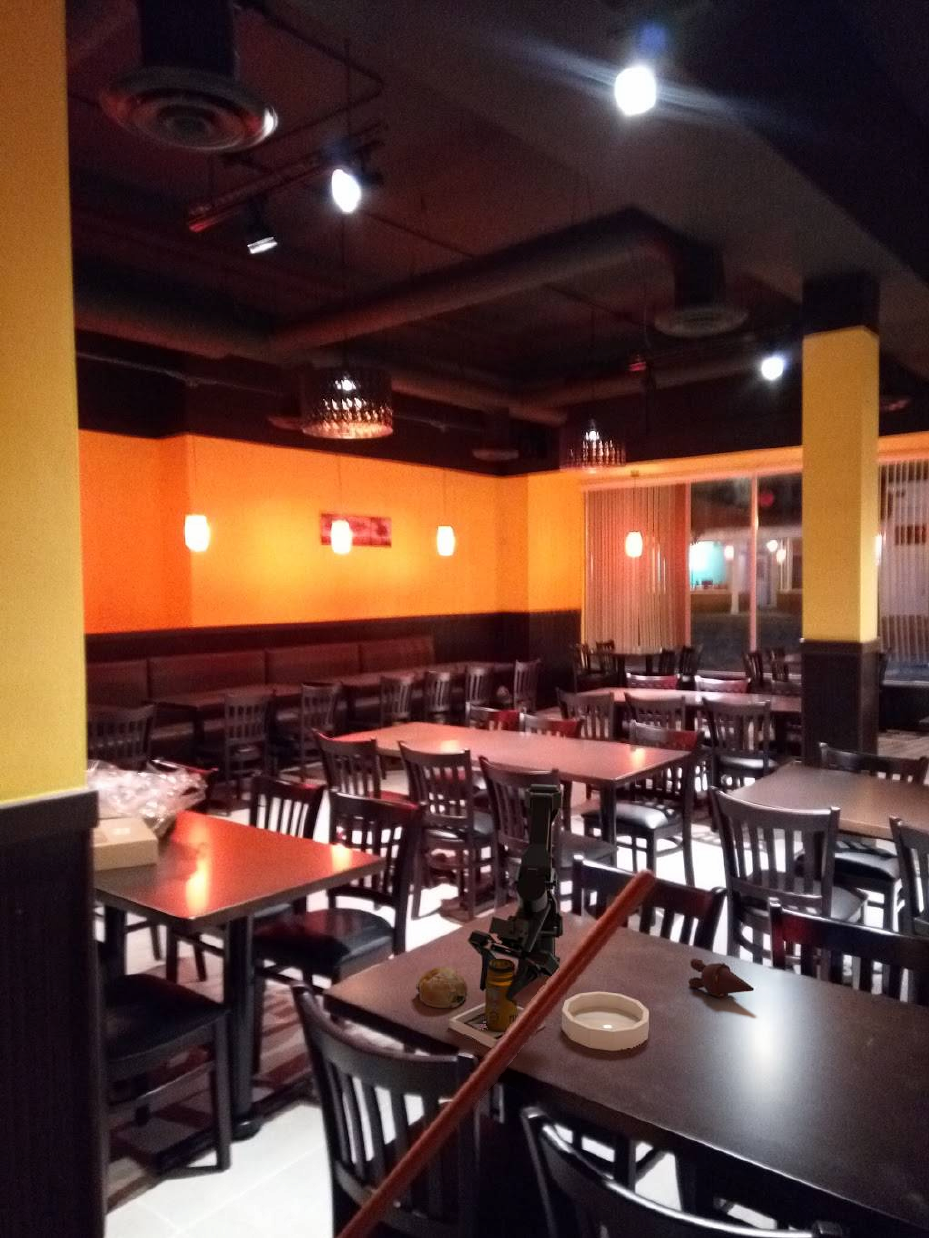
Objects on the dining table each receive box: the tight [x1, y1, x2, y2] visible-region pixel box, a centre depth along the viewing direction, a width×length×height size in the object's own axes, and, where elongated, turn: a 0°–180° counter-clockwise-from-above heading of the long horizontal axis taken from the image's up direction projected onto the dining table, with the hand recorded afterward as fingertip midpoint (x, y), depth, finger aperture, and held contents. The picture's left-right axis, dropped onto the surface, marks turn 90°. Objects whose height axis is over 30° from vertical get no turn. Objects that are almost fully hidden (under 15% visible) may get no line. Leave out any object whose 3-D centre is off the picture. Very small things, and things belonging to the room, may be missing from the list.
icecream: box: [688, 958, 754, 1000], centre depth 184 cm, size 7×7×15 cm
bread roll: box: [414, 966, 469, 1009], centre depth 182 cm, size 10×10×8 cm
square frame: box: [448, 1002, 547, 1049], centre depth 170 cm, size 14×13×2 cm
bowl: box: [561, 991, 650, 1052], centre depth 170 cm, size 16×16×4 cm
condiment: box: [468, 958, 518, 1038], centre depth 170 cm, size 7×8×12 cm
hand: (494, 994), depth 169 cm, fingers closed on condiment, 6 cm apart
